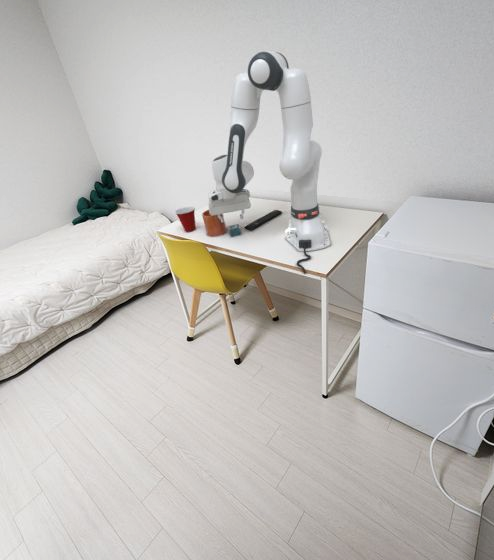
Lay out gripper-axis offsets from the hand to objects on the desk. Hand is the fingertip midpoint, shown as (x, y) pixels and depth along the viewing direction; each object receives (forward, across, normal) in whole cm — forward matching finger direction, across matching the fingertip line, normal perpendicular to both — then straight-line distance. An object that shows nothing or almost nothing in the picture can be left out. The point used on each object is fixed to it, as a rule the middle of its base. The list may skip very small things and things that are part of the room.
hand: (232, 220), depth 151 cm
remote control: (+8, -16, -9) cm, 20 cm away
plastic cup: (+8, +24, -17) cm, 30 cm away
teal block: (+8, 0, 0) cm, 8 cm away
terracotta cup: (+8, +9, -7) cm, 14 cm away
